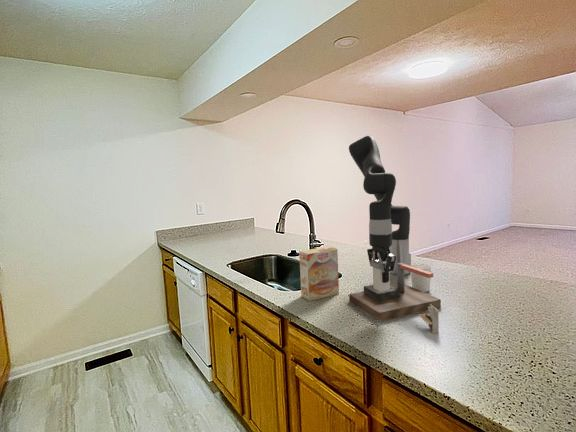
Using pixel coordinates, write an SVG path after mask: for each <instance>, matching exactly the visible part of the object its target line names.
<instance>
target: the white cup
mask: <svg viewBox="0 0 576 432" xmlns="http://www.w3.org/2000/svg"><path fill="white" fill-rule="evenodd" d="M411 266H412V267H415V268H418V269H422V270H425V271H428V272H431V271H432V266H431V265H429V264H425V263H424V264H422V263H414V264H413V263H412V264H411ZM431 273H432V272H431ZM410 278H411V285H412V286H411V287H412V288H415V289H417V290H420V291H422V292H424V293H427V292H429V291H430V290H431V289H430V288H431V278H427V277H424V276H421V275H418V274H415V273H413V272H410Z"/></svg>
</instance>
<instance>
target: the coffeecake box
mask: <svg viewBox="0 0 576 432" xmlns="http://www.w3.org/2000/svg"><path fill="white" fill-rule="evenodd" d="M338 253H339V252H338V248H336V247H333V246H332V247H331V246H329V245H328V246H324V247H316V248H312V249H305V250H299V252H298V254H299V255H298V257H299V271H300V272H299V273H300V275H299V276H300V293H301V294H300V295H301V298H303V299H306V300H307V301H308V302H312V301H315V300H318V299H322V298H323V299H324V298H327V297H331V296H335V295H339V293H340V289H339V288H340V285H339V282H340V281H339V262H338V261H339V258H338V256H339V255H338Z"/></svg>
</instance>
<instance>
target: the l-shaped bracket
mask: <svg viewBox="0 0 576 432" xmlns="http://www.w3.org/2000/svg"><path fill="white" fill-rule="evenodd" d="M404 270H407V271H410V273H411V272H413V273H415V274H418V275H421V276H424V277H427V278H430V279H431V278H432V279H433V278H434V273H433V272H428V271H425V270H422V269H418V268H415V267H412V266H409V265H406V264H404V263H397V275H396V277H397V278H396V279H397V282H396V283H397V284H396V285H397V289H399V290H400V292H404V284H405V275H404Z"/></svg>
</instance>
